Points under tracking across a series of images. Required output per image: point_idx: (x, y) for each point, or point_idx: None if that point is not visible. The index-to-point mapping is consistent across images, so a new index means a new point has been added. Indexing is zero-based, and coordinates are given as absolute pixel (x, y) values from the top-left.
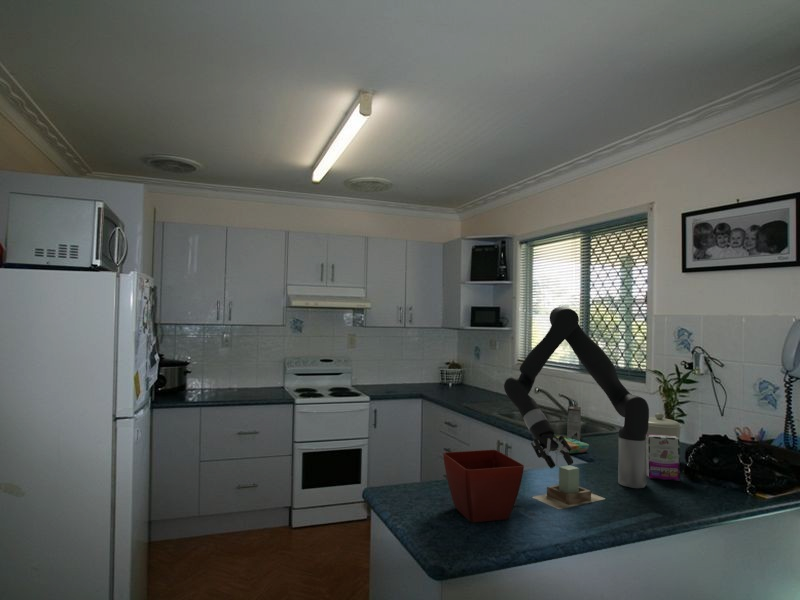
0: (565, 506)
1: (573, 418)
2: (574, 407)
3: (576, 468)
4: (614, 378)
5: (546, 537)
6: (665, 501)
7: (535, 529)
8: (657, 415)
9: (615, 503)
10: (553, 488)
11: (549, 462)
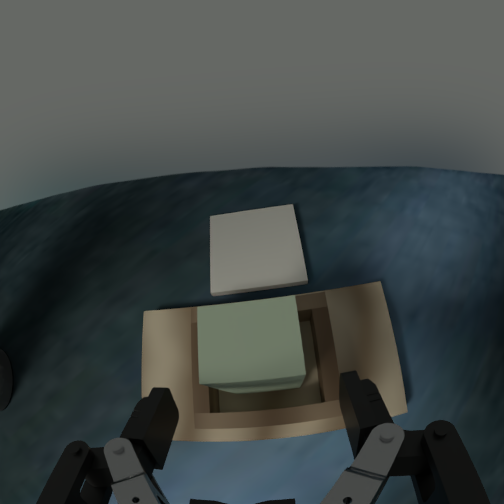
0: (342, 297)
1: None
2: None
3: (217, 307)
4: None
5: (459, 192)
6: (34, 270)
7: (471, 226)
8: None
9: (127, 305)
10: (330, 386)
11: (379, 393)
